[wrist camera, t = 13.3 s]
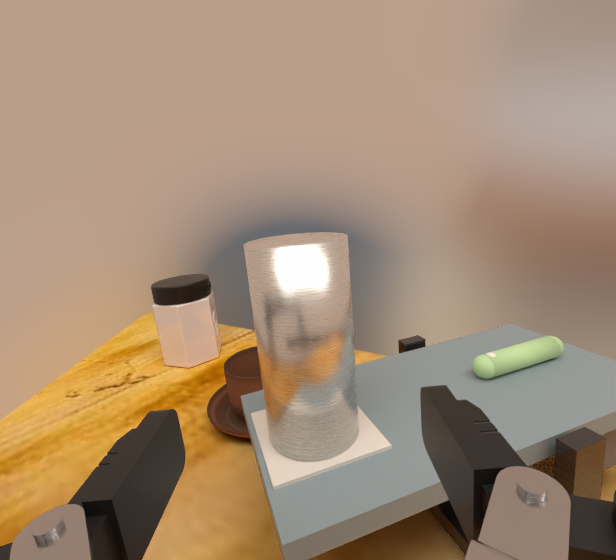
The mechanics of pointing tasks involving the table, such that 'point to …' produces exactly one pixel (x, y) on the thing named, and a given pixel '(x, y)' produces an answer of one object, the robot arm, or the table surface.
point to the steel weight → (305, 342)
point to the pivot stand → (567, 466)
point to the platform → (408, 434)
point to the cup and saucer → (235, 392)
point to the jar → (186, 320)
